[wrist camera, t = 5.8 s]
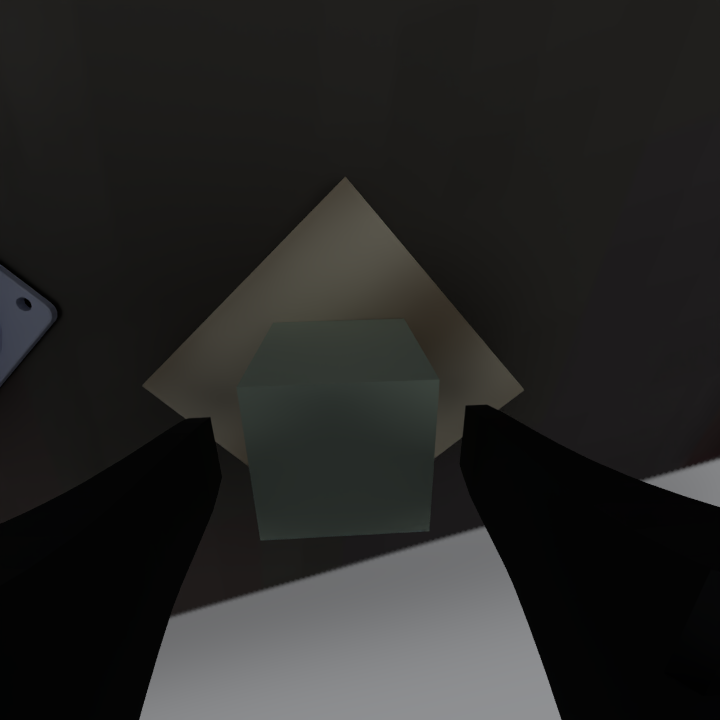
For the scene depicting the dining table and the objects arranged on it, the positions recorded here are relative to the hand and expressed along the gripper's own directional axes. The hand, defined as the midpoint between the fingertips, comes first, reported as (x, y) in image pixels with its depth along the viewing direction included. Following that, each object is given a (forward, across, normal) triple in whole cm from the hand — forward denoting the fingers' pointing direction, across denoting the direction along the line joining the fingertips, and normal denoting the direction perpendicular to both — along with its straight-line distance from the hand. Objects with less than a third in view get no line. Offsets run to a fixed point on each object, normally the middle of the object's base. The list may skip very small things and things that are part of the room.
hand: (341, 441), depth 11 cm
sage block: (+3, 0, 0) cm, 4 cm away
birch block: (+6, 0, 0) cm, 6 cm away
